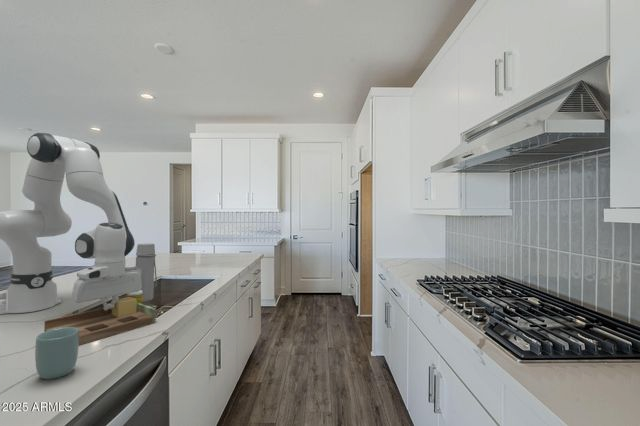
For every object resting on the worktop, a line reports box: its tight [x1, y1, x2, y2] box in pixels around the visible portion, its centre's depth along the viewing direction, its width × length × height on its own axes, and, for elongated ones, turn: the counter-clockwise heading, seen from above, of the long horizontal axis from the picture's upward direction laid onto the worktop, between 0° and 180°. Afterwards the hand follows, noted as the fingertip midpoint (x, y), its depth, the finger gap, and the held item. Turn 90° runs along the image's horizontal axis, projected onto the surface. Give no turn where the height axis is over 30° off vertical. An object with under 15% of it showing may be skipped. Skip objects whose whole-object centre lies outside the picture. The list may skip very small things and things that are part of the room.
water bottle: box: [135, 242, 158, 303], centre depth 134 cm, size 9×8×25 cm
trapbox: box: [43, 303, 157, 347], centre depth 100 cm, size 16×26×6 cm, turn 148°
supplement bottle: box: [126, 290, 143, 304], centre depth 120 cm, size 5×5×10 cm
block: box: [112, 296, 137, 317], centre depth 108 cm, size 5×6×5 cm
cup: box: [34, 327, 80, 380], centre depth 72 cm, size 8×8×10 cm
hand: (109, 309), depth 104 cm, fingers closed
